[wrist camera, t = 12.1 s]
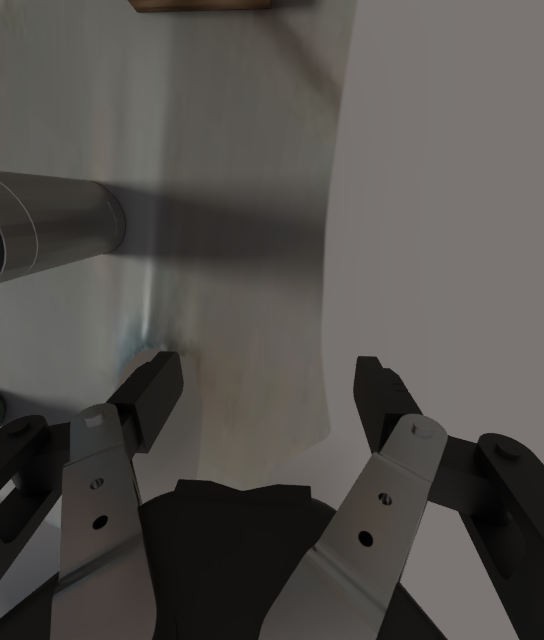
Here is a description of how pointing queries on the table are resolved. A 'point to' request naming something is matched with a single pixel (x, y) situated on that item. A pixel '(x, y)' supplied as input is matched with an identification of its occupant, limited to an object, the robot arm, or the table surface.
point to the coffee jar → (2, 411)
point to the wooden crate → (197, 5)
